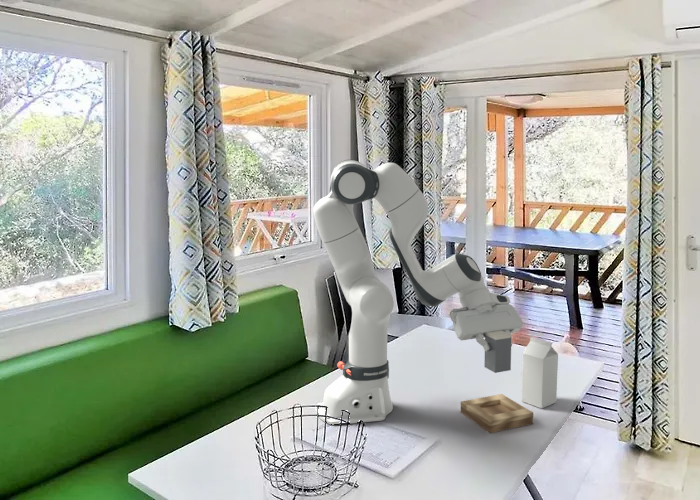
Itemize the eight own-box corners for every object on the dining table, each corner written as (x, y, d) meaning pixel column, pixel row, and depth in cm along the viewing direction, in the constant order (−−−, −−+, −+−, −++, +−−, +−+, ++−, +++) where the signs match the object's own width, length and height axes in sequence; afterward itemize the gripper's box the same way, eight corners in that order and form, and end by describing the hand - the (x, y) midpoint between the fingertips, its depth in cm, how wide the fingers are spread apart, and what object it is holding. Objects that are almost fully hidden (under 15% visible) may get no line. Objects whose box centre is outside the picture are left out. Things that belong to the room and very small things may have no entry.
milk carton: (541, 409, 165) (544, 345, 162) (521, 401, 170) (523, 339, 167) (556, 403, 169) (558, 340, 166) (535, 395, 174) (537, 335, 172)
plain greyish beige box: (495, 372, 154) (495, 337, 153) (484, 367, 159) (485, 332, 157) (510, 370, 156) (511, 334, 154) (499, 364, 160) (500, 329, 159)
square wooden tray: (489, 433, 150) (489, 421, 150) (460, 412, 163) (460, 401, 163) (532, 423, 155) (533, 412, 155) (501, 404, 168) (501, 393, 168)
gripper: (451, 303, 157) (471, 348, 150) (513, 296, 165) (534, 338, 157) (443, 315, 162) (461, 359, 154) (503, 307, 169) (524, 349, 162)
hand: (499, 348), depth 156 cm, fingers closed on plain greyish beige box, 5 cm apart
